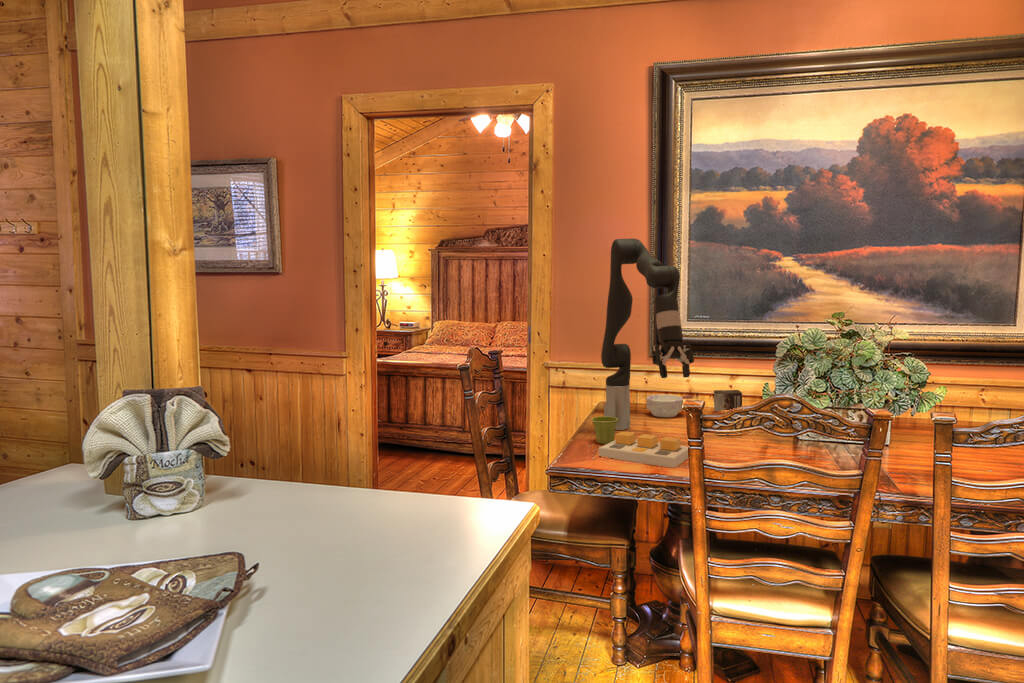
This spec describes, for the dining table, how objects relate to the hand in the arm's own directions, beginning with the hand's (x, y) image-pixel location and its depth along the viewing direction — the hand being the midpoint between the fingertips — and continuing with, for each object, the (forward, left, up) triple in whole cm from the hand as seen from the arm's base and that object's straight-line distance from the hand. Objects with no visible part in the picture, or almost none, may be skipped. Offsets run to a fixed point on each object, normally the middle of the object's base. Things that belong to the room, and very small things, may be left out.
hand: (675, 377), depth 205 cm
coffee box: (+2, +46, -28) cm, 54 cm away
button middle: (-12, +5, -24) cm, 28 cm away
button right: (-4, +5, -24) cm, 25 cm away
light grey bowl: (-31, +66, -28) cm, 78 cm away
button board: (-12, +3, -28) cm, 30 cm away
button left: (-20, +5, -24) cm, 32 cm away
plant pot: (-32, +13, -28) cm, 44 cm away
